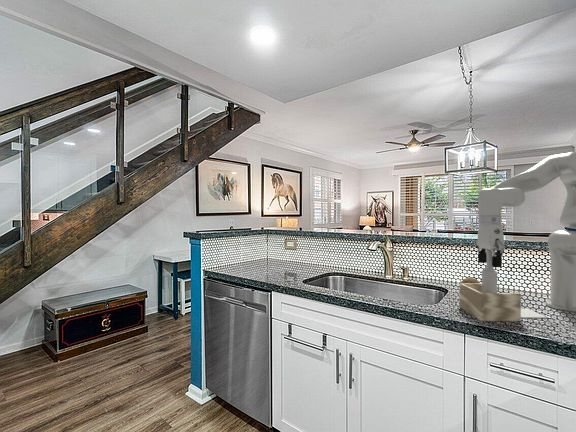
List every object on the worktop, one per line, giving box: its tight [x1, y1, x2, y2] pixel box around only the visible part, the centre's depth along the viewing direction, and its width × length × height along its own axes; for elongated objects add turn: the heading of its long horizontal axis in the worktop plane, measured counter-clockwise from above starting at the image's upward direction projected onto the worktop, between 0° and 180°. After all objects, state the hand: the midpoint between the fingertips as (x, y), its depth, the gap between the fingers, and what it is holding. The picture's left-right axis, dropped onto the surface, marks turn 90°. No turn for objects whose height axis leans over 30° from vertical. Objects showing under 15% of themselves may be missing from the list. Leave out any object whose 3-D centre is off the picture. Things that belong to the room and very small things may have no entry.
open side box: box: [459, 282, 522, 322], centre depth 123 cm, size 14×16×10 cm
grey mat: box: [521, 308, 548, 319], centre depth 122 cm, size 10×10×1 cm
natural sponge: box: [460, 277, 481, 283], centre depth 142 cm, size 9×9×10 cm
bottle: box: [481, 250, 498, 293], centre depth 123 cm, size 5×5×25 cm
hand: (489, 264), depth 123 cm, fingers open, 8 cm apart
